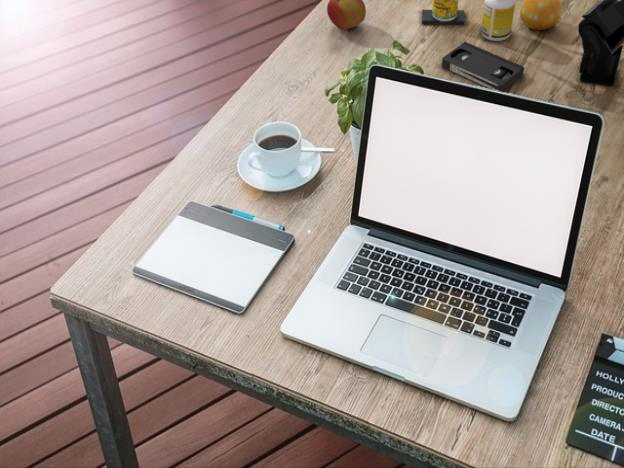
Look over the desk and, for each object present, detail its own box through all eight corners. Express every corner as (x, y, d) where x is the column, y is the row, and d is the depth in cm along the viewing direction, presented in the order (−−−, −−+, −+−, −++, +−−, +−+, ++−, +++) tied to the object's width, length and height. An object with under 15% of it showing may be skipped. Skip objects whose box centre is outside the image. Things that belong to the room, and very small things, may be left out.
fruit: (540, -2, 182) (535, -23, 175) (571, 14, 178) (567, -7, 171) (516, 27, 182) (510, 7, 175) (546, 44, 178) (541, 24, 171)
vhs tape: (440, 66, 169) (441, 58, 168) (464, 49, 173) (464, 41, 172) (500, 93, 162) (501, 85, 161) (522, 75, 166) (524, 67, 165)
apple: (341, 14, 185) (340, -20, 179) (372, 24, 182) (372, -10, 176) (321, 29, 181) (320, -4, 175) (352, 40, 177) (352, 6, 172)
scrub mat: (463, 13, 183) (464, 10, 183) (464, 24, 180) (464, 21, 180) (422, 12, 184) (422, 9, 184) (422, 23, 181) (422, 20, 180)
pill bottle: (515, 31, 178) (522, -17, 170) (503, 45, 174) (510, -3, 166) (488, 23, 180) (493, -25, 172) (475, 37, 176) (481, -11, 169)
